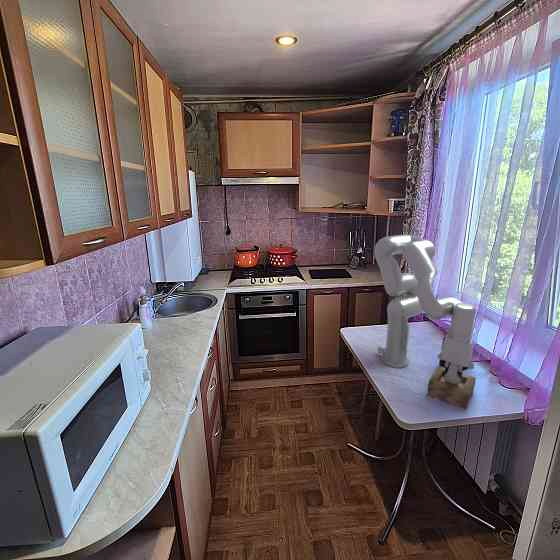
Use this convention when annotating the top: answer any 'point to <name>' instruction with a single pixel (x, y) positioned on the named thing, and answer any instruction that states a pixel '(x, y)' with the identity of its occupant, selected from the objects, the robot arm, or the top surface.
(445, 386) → the walnut open box
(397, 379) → the top surface
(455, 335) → the robot arm
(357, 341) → the top surface
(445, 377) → the salt shaker
